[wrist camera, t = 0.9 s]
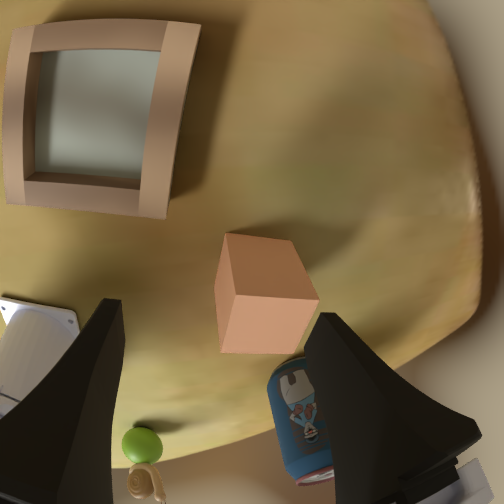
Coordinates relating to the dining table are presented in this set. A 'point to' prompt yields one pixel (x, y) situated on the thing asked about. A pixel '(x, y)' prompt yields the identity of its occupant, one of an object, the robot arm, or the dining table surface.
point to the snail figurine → (143, 463)
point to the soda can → (300, 424)
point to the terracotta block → (261, 296)
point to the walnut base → (96, 113)
